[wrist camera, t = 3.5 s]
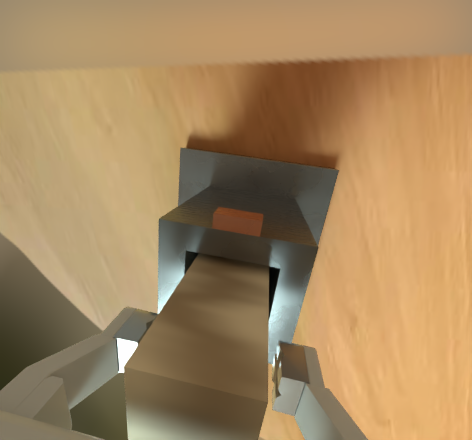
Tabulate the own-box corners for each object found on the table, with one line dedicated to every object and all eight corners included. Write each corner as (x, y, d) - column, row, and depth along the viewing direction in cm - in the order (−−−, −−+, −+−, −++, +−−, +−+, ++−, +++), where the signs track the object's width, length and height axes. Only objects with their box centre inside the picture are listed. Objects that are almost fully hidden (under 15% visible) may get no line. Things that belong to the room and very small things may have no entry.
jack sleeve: (334, 168, 20) (410, 195, 9) (299, 295, 25) (322, 411, 14) (186, 147, 21) (99, 149, 11) (180, 271, 26) (116, 360, 15)
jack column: (270, 215, 21) (269, 401, 6) (262, 254, 22) (247, 485, 7) (227, 208, 21) (122, 364, 6) (222, 247, 22) (127, 451, 7)
